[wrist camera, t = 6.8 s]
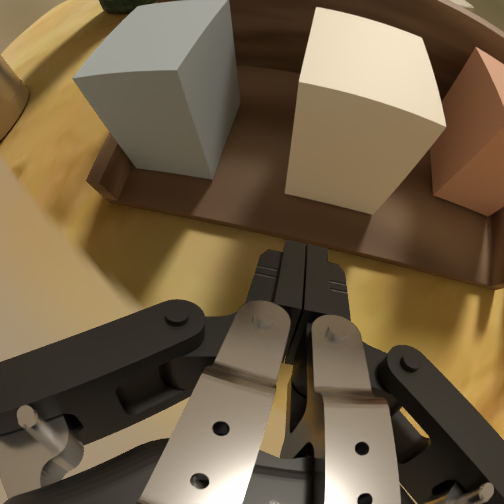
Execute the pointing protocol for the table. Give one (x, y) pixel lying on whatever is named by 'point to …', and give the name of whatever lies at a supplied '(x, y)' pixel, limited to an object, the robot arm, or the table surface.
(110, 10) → the coffee jar
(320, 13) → the cream rectangular block
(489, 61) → the key terracotta
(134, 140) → the grey blue block
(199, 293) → the table surface
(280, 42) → the tray
